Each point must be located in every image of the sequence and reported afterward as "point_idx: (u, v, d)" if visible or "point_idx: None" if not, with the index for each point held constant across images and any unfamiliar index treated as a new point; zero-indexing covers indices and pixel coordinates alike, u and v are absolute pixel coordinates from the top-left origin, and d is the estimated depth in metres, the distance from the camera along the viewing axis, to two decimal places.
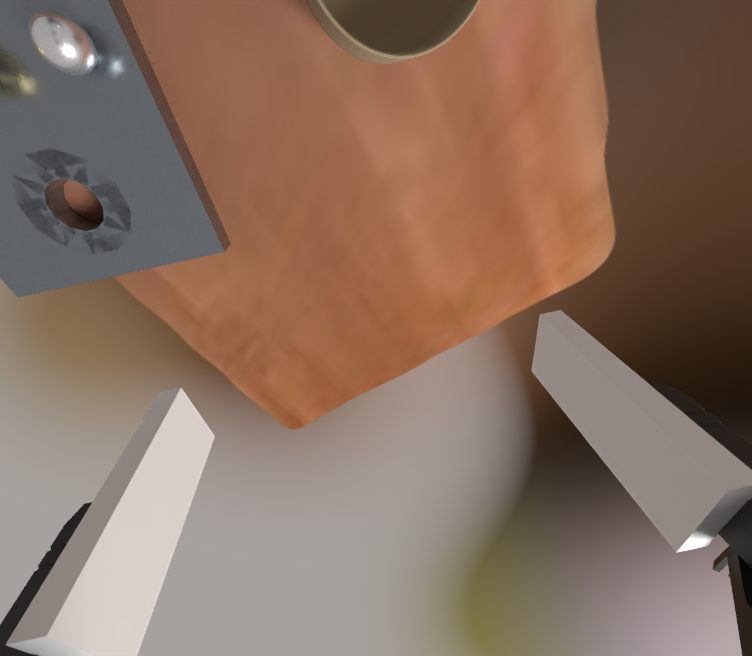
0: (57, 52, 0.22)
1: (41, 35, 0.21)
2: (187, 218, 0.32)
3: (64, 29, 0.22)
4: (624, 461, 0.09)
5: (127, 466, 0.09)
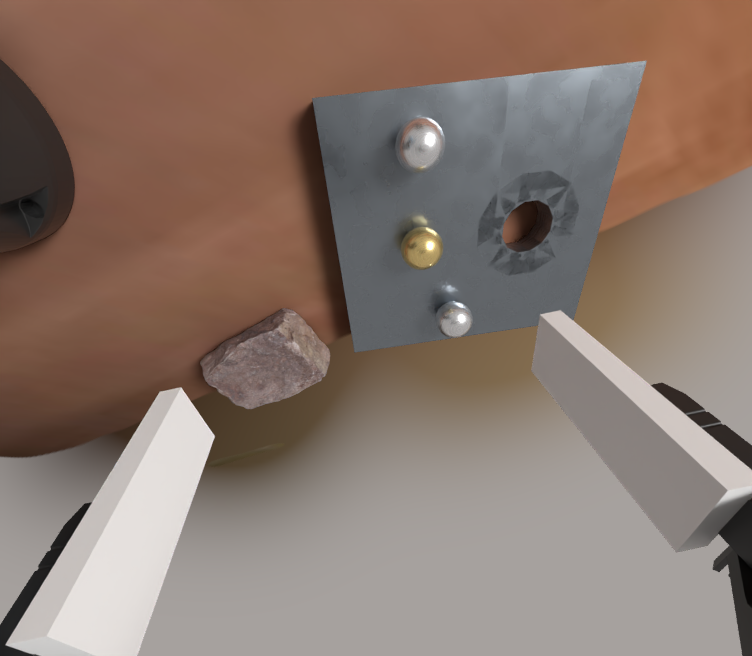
0: (435, 144, 0.22)
1: (422, 151, 0.22)
2: (587, 100, 0.24)
3: (418, 128, 0.21)
4: (624, 461, 0.09)
5: (127, 466, 0.09)
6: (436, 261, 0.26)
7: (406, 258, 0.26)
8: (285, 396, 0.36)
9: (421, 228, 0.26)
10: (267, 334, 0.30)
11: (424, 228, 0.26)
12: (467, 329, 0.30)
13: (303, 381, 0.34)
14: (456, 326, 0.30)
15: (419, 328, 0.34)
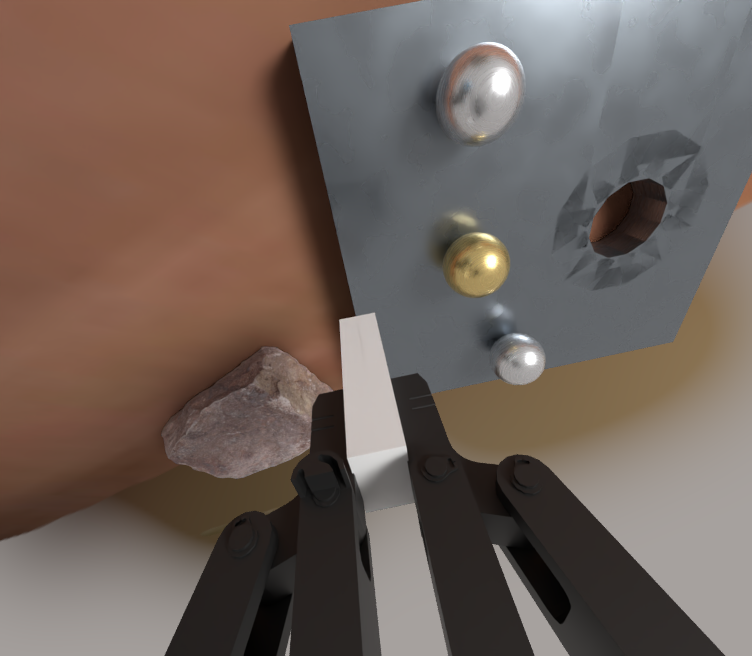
0: (513, 89, 0.12)
1: (491, 104, 0.12)
2: None
3: (482, 61, 0.12)
4: None
5: (354, 363, 0.11)
6: (501, 285, 0.17)
7: (454, 283, 0.17)
8: (283, 460, 0.26)
9: (476, 235, 0.17)
10: (240, 392, 0.20)
11: (481, 235, 0.16)
12: (540, 374, 0.21)
13: (303, 440, 0.25)
14: (525, 372, 0.20)
15: (463, 369, 0.24)
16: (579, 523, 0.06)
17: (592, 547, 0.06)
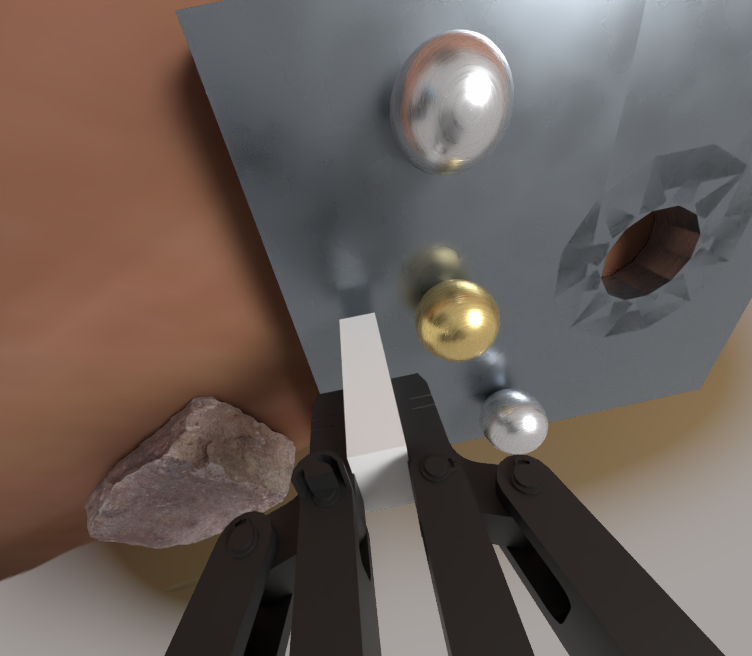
0: (495, 98, 0.08)
1: (463, 120, 0.08)
2: None
3: (447, 57, 0.08)
4: None
5: (354, 363, 0.11)
6: (488, 348, 0.13)
7: (427, 345, 0.13)
8: None
9: (455, 286, 0.13)
10: (154, 465, 0.16)
11: (461, 286, 0.13)
12: (541, 443, 0.17)
13: (254, 505, 0.21)
14: (523, 443, 0.16)
15: (450, 426, 0.20)
16: (579, 522, 0.06)
17: (592, 547, 0.06)
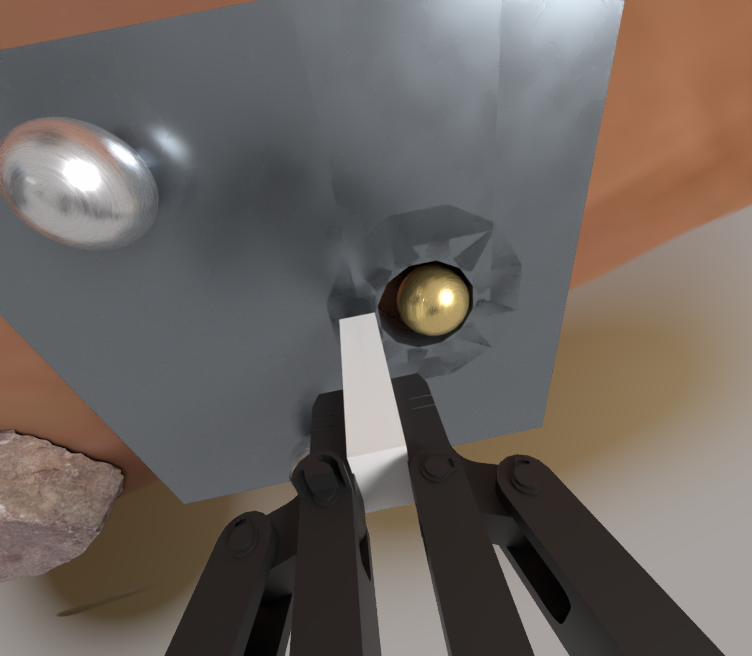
0: (70, 190, 0.08)
1: (41, 211, 0.08)
2: (501, 44, 0.10)
3: (7, 151, 0.08)
4: None
5: (354, 363, 0.11)
6: (466, 311, 0.16)
7: (421, 324, 0.15)
8: (71, 556, 0.22)
9: (426, 268, 0.15)
10: None
11: (430, 266, 0.15)
12: None
13: (71, 538, 0.20)
14: None
15: (280, 465, 0.20)
16: (579, 523, 0.06)
17: (592, 547, 0.06)
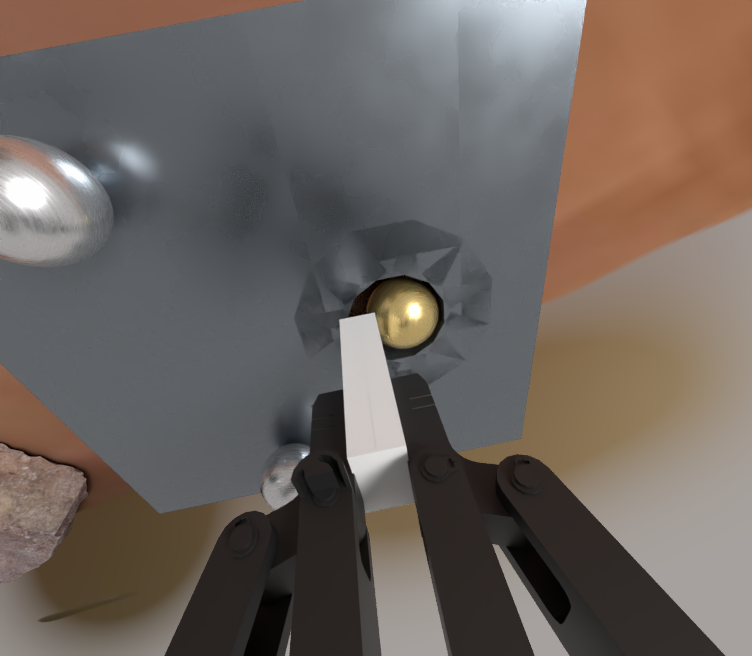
0: (9, 210, 0.08)
1: None
2: (460, 61, 0.10)
3: None
4: None
5: (354, 363, 0.11)
6: (435, 325, 0.15)
7: (386, 337, 0.15)
8: (38, 562, 0.21)
9: (393, 280, 0.15)
10: None
11: (398, 279, 0.15)
12: None
13: (32, 544, 0.20)
14: (282, 505, 0.16)
15: (255, 476, 0.20)
16: (579, 523, 0.06)
17: (592, 547, 0.06)
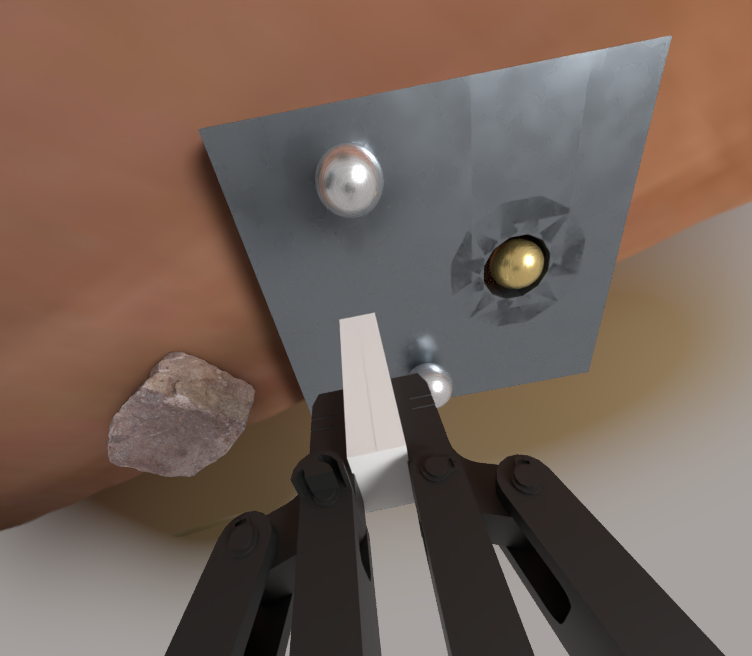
0: (363, 181, 0.15)
1: (346, 192, 0.15)
2: (586, 98, 0.17)
3: (336, 161, 0.15)
4: None
5: (354, 363, 0.11)
6: None
7: (508, 277, 0.22)
8: (218, 455, 0.28)
9: (514, 239, 0.22)
10: (136, 395, 0.23)
11: (517, 238, 0.22)
12: (445, 400, 0.24)
13: (224, 434, 0.27)
14: None
15: None
16: (579, 523, 0.06)
17: (592, 547, 0.06)
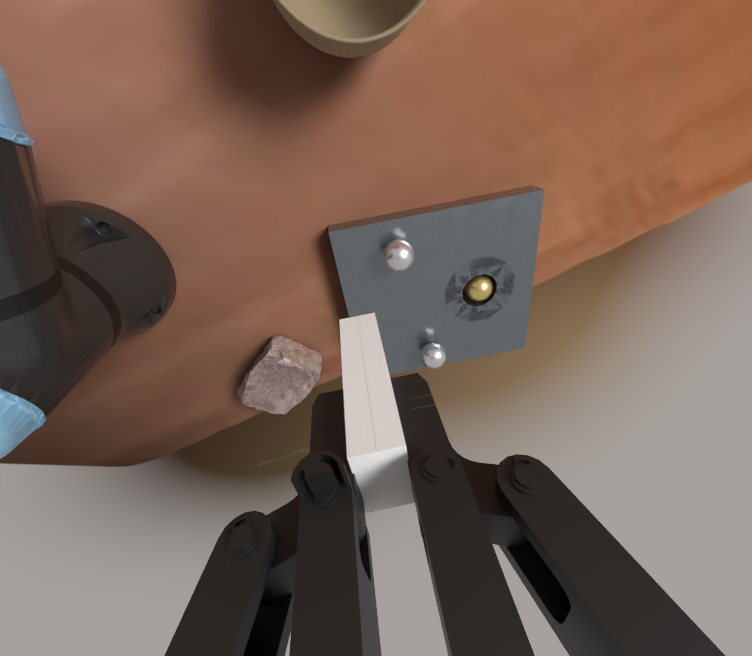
0: (407, 259, 0.34)
1: (399, 263, 0.34)
2: (508, 214, 0.36)
3: (395, 250, 0.34)
4: None
5: (354, 363, 0.11)
6: (491, 292, 0.41)
7: (472, 294, 0.41)
8: (303, 397, 0.47)
9: None
10: (263, 360, 0.41)
11: None
12: (442, 362, 0.43)
13: (307, 382, 0.45)
14: (434, 361, 0.42)
15: (409, 361, 0.46)
16: (579, 523, 0.06)
17: (592, 547, 0.06)
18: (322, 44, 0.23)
